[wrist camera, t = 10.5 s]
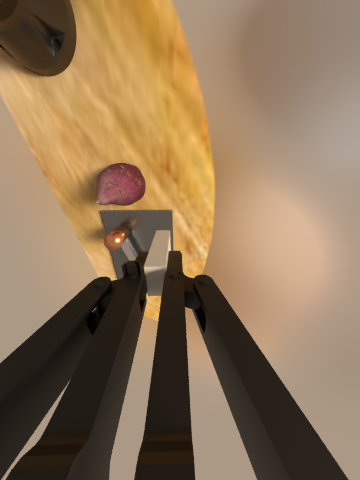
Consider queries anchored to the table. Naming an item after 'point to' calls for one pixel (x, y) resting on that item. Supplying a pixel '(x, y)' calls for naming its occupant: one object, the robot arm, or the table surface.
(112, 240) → the lever
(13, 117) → the table surface
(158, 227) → the base
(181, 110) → the table surface
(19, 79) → the table surface
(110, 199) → the vegetable
